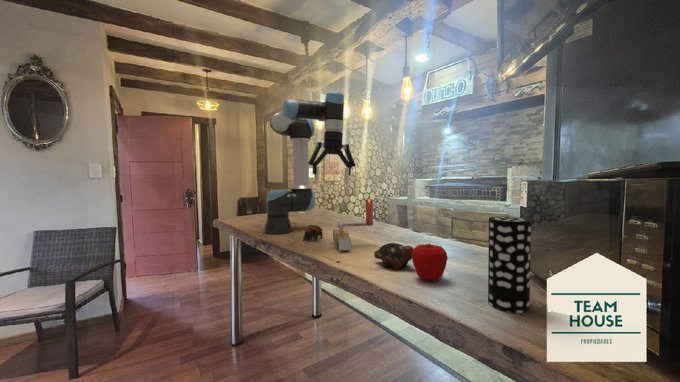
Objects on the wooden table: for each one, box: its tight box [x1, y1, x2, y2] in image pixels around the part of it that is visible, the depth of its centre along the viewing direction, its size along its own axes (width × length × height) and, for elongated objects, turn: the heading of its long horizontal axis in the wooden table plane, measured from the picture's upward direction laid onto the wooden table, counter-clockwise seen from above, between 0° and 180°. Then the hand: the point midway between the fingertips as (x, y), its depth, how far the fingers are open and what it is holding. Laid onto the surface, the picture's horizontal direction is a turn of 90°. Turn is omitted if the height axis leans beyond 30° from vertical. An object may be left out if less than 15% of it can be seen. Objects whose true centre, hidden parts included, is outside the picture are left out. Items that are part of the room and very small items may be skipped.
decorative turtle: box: [373, 242, 415, 271], centre depth 97 cm, size 10×15×8 cm, turn 53°
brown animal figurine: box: [302, 224, 324, 243], centre depth 140 cm, size 12×10×8 cm
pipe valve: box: [332, 227, 352, 252], centre depth 125 cm, size 19×6×8 cm, turn 9°
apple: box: [411, 242, 449, 283], centre depth 84 cm, size 10×10×11 cm
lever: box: [337, 198, 374, 228], centre depth 125 cm, size 15×3×11 cm, turn 99°
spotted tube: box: [487, 216, 532, 314], centre depth 67 cm, size 8×8×20 cm
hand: (331, 183), depth 122 cm, fingers open, 13 cm apart
